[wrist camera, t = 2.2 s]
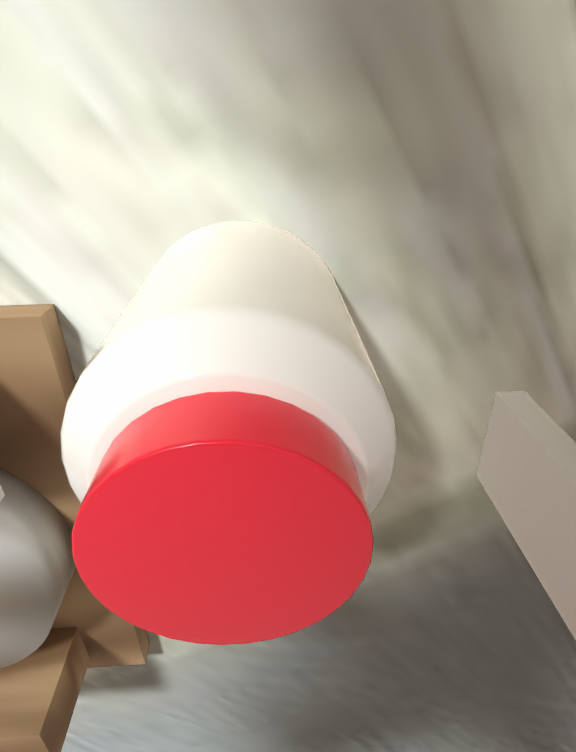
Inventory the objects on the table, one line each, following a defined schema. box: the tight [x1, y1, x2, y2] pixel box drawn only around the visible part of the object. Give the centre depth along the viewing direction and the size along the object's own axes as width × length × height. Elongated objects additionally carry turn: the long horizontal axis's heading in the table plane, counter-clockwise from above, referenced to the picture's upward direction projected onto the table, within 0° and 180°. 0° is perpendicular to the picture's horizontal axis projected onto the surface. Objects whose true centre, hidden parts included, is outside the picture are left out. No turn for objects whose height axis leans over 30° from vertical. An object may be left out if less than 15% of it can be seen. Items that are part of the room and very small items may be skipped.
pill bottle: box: [61, 221, 397, 645], centre depth 13 cm, size 8×8×11 cm
